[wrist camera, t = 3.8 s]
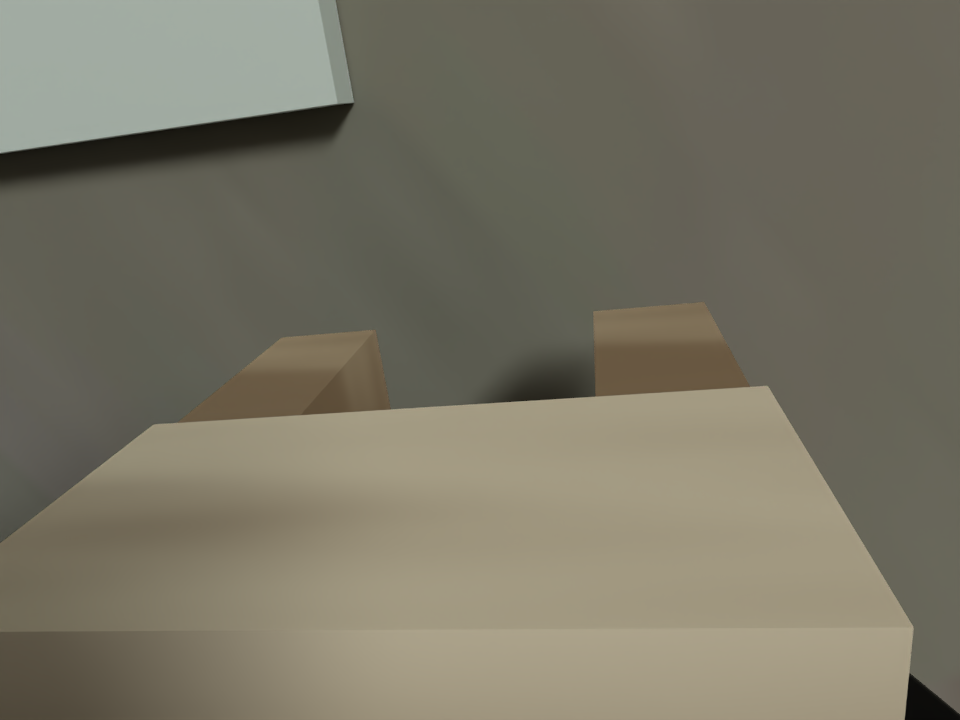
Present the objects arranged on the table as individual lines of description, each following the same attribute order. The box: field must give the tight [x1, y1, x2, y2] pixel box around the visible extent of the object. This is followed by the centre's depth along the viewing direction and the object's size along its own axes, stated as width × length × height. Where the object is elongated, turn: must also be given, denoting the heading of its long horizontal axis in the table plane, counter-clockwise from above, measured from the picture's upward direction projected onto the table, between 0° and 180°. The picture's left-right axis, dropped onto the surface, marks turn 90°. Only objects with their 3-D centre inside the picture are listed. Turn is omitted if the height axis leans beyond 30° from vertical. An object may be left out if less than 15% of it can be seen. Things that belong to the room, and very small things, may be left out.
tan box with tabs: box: [0, 302, 914, 720], centre depth 8 cm, size 6×6×6 cm
